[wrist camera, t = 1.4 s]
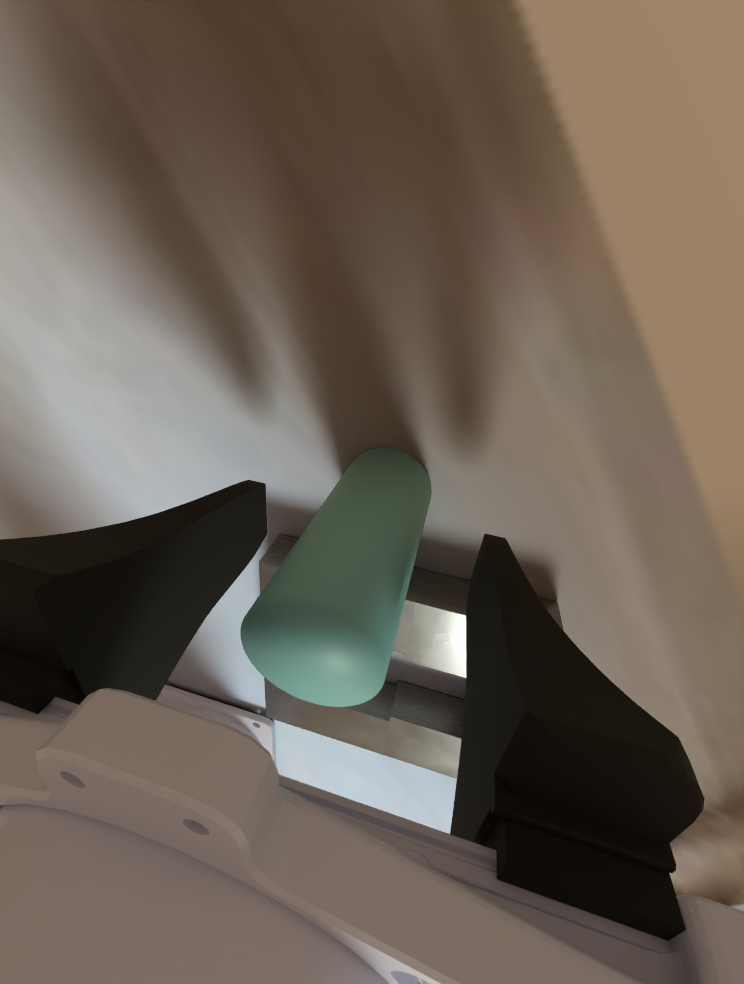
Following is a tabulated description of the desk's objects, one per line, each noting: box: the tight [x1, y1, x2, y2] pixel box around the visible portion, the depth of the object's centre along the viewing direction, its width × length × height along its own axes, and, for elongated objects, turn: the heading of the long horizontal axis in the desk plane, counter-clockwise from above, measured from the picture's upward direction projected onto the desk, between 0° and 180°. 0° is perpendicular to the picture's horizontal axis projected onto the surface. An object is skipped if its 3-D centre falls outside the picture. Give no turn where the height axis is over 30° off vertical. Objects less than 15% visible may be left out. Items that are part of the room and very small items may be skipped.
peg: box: [241, 447, 431, 707], centre depth 12 cm, size 3×3×8 cm
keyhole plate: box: [259, 534, 563, 779], centre depth 19 cm, size 12×11×2 cm
